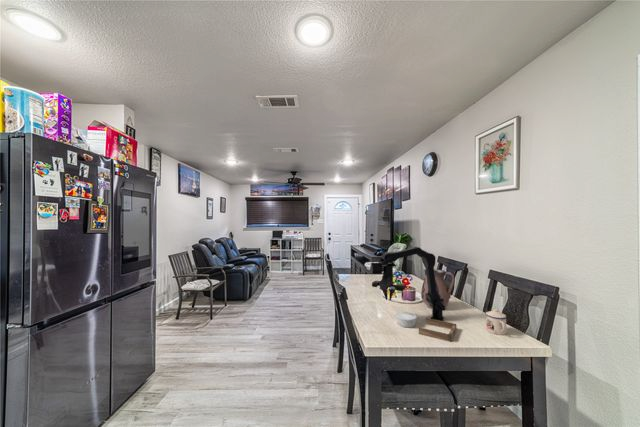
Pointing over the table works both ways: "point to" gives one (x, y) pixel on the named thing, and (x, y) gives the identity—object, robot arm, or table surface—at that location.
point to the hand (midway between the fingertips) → (388, 300)
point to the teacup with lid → (496, 322)
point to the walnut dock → (439, 334)
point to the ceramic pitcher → (438, 287)
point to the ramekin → (406, 319)
